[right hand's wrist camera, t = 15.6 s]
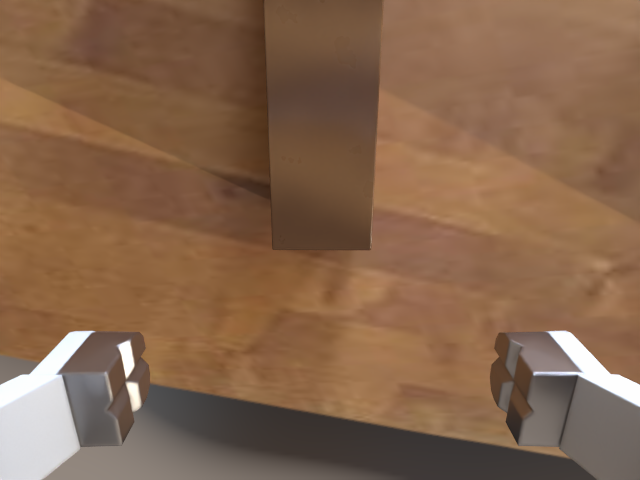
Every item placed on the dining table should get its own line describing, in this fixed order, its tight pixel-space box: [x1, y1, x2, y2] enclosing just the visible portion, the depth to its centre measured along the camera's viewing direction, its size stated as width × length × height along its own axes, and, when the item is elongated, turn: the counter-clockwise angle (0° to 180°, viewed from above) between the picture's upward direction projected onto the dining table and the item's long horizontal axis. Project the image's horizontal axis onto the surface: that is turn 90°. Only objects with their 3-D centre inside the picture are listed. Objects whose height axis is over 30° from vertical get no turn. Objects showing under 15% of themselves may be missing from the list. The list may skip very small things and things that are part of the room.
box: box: [263, 0, 383, 250], centre depth 25 cm, size 26×6×8 cm, turn 0°
